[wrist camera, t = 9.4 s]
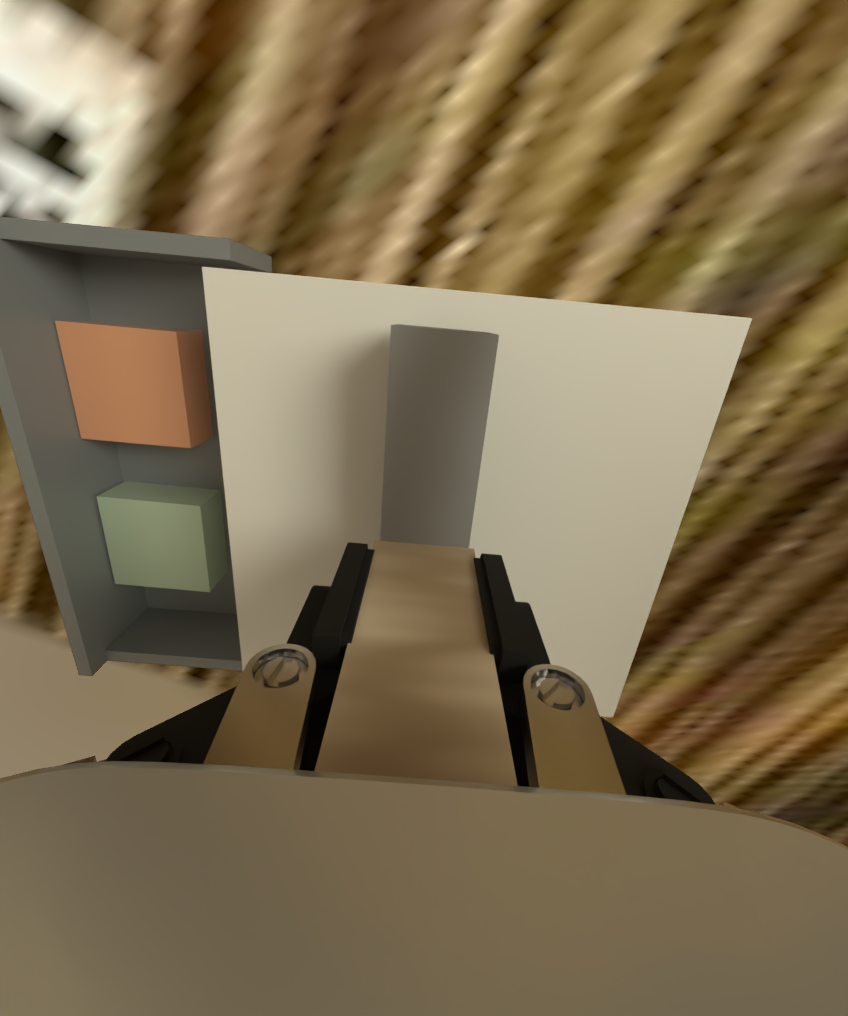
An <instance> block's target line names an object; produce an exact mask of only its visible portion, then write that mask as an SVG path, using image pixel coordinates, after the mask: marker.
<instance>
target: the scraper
mask: <svg viewBox="0 0 848 1016" xmlns="http://www.w3.org/2000/svg"><path fill="white" fill-rule="evenodd" d="M498 340H499V335H497V334H493V333H488V332H479V331H468V330H457V329H447V328H436V327H425V326H414V325H403V324H395V325H391V334H390V354H389V374H388V394H387V414H386V433H385V453H384V473H383V493H382V513H381V533H380V541H376V540H375V541H374V545H373V549H374V550H375V551H374V555H373V559H372V563H371V567H370V571H369V575H368V579H367V583H366V587H365V591H364V595H363V599H362V603H361V607H360V611H359V615H358V619H357V623H356V627H355V631H354V635H353V639H352V643H348V645H347V649H346V652H345V656H344V660H343V664H342V668H341V672H340V675H339V679H338V683H337V687H336V691H335V695H334V698H333V702H332V706H331V710H330V714H329V718H328V721H327V725H326V729H325V733H324V737H323V740H322V744H321V748H320V752H319V756H318V760H317V763H316V767H315V771H319V772H334V773H349V774H363V775H377V776H391V777H405V778H418V779H432V780H446V781H459V782H472V783H486V784H499V785H512V786H518V785H517V780H516V774H515V769H514V763H513V758H512V753H511V747H510V742H509V736H508V731H507V725H506V720H505V714H504V709H503V704H502V698H501V693H500V687H499V682H498V676H497V671H496V665H495V660H494V655H493V654H490V651H489V645H488V639H487V633H486V628H485V622H484V616H483V610H482V605H481V599H480V593H479V587H478V581H477V576H476V570H475V564H474V558H476V557H475V551H474V549H473V548H469V543H470V536H471V529H472V522H473V515H474V508H475V501H476V494H477V487H478V480H479V473H480V466H481V459H482V452H483V445H484V438H485V431H486V424H487V417H488V410H489V403H490V396H491V389H492V382H493V375H494V368H495V361H496V354H497V347H498Z"/></svg>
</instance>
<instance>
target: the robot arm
mask: <svg viewBox="0 0 848 1016" xmlns="http://www.w3.org/2000/svg"><path fill="white" fill-rule="evenodd" d="M374 551H375V550H374V549H368V544H363V543H351V542H348V543H347V546H346V548H345V551H344V553H343V556H342V559H341V561H340V564H339V566H338V569H337V572H336V574H335V577H334V580H333V582H332V585H331V586H319V585H314V586H313V587H312V588H311V590H310V593H309V595H308V597H307V599H306V601H305V604H304V606H303V608H302V610H301V612H300V615H299V617H298V619H297V621H296V623H295V626H294V628H293V630H292V632H291V634H290V637H289V639H288V641H287V643H286V644H278V645H274V646H271V647H267V648H265V649H263V650H262V651H260V652H258V653H257V654H255V655H254V656H253V657H252V658H251V659H250V660H249V662H248V663H247V665H246V666H245V668H244V671H243V673H242V675H241V678H240V680H239V682H238V684H237V686H236V687H234V688H232V689H230V690H228V691H226V692H224V693H222V694H220V695H218V696H216V697H214V698H212V699H209V700H207V701H205V702H203V703H201V704H199V705H197V706H195V707H193V708H191V709H189V710H187V711H185V712H183V713H181V714H179V715H177V716H175V717H173V718H171V719H169V720H166V721H164V722H163V723H160V724H158V725H156V726H154V727H152V728H150V729H148V730H146V731H144V732H142V733H140V734H138V735H136V736H134V737H132V738H131V739H129V740H128V741H126V742H124V743H123V744H121V746H119V747H118V748H117V749H116V750H115V751H113V752H112V753H111V754H110V756H109V757H108V758H107V759H106V760H102V761H99V762H97V761H96V758H95V756H92V757H89V758H85V759H82V760H78V761H75V762H71V763H68V764H64V765H61V766H55V767H49V768H42V769H36V770H32V771H28V772H24V773H20V774H16V775H12V776H8V777H4V778H0V1016H848V846H846V845H844V844H842V843H840V842H838V841H835V840H833V839H831V838H829V837H826V836H824V835H821V834H819V833H817V832H814V831H812V830H809V829H807V828H804V827H802V826H799V825H797V824H794V823H791V822H787V821H784V820H781V819H777V818H774V817H771V816H767V815H764V814H760V813H757V812H752V811H747V810H742V809H739V808H737V807H735V806H733V805H731V804H728V803H726V802H724V804H723V806H722V805H715V803H714V802H713V800H712V798H711V797H710V796H709V795H708V794H707V792H706V791H705V790H704V789H703V788H702V787H701V786H700V785H699V784H698V783H696V782H695V781H694V780H693V779H691V778H690V777H689V776H687V775H686V774H685V773H683V772H682V771H680V770H679V769H677V768H676V767H674V766H673V765H671V764H670V763H668V762H667V761H665V760H664V759H662V758H661V757H659V756H658V755H656V754H655V753H653V752H652V751H650V750H649V749H647V748H646V747H645V746H643V745H642V744H640V743H639V742H637V741H636V740H634V739H633V738H631V737H630V736H628V735H627V734H625V733H624V732H622V731H621V730H619V729H618V728H616V727H615V726H613V725H612V724H610V723H609V722H607V721H606V720H605V719H603V718H602V717H600V715H599V712H598V709H597V706H596V703H595V701H594V698H593V695H592V692H591V690H590V688H589V687H588V685H587V684H586V683H585V682H584V681H583V679H582V678H581V677H579V676H578V675H576V674H575V673H574V672H572V671H570V670H568V669H566V668H564V667H561V666H557V665H552V664H551V663H550V660H549V657H548V654H547V651H546V649H545V646H544V643H543V640H542V637H541V634H540V631H539V629H538V626H537V623H536V620H535V617H534V614H533V611H532V609H531V606H530V604H529V603H528V602H517V601H515V598H514V595H513V592H512V588H511V585H510V582H509V578H508V575H507V572H506V568H505V565H504V562H503V558H502V556H501V555H496V554H484V553H482V554H481V556H480V558H474V564H475V570H476V576H477V581H478V587H479V593H480V599H481V605H482V610H483V616H484V622H485V628H486V633H487V639H488V645H489V651H490V654H493V655H494V660H495V665H496V671H497V676H498V682H499V687H500V693H501V698H502V704H503V709H504V714H505V720H506V725H507V731H508V736H509V742H510V747H511V753H512V758H513V763H514V769H515V774H516V780H517V785H518V786H512V785H499V784H486V783H472V782H459V781H446V780H432V779H418V778H405V777H391V776H377V775H363V774H349V773H334V772H319V771H315V767H316V763H317V760H318V756H319V752H320V748H321V744H322V740H323V737H324V733H325V729H326V725H327V721H328V718H329V714H330V710H331V706H332V702H333V698H334V695H335V691H336V687H337V683H338V679H339V675H340V672H341V668H342V664H343V660H344V656H345V652H346V649H347V645H348V643H352V639H353V635H354V631H355V627H356V623H357V619H358V615H359V611H360V607H361V603H362V599H363V595H364V591H365V587H366V583H367V579H368V575H369V571H370V567H371V563H372V559H373V555H374Z"/></svg>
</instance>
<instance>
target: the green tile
mask: <svg viewBox="0 0 848 1016" xmlns="http://www.w3.org/2000/svg"><path fill="white" fill-rule="evenodd" d="M96 497H97V502H98V506H99V511H100V516H101V520H102V525H103V530H104V534H105V539H106V544H107V548H108V553H109V558H110V562H111V567H112V572H113V576H114V581H115V584H123V585H134V586H146V587H157V588H168V589H179V590H190V591H202V592H211V590H212V589H213V588H214V587H215V586H216V584H217V583H218V582H219V581H220V580H221V578H222V577H223V576H224V575H225V574H226V572H227V571H228V564H227V554H226V543H225V532H224V522H223V511H222V501H221V490H215V489H205V488H194V487H183V486H173V485H162V484H152V483H141V482H130V481H125V482H123V483H121V484H119V485H117V486H115V487H114V488H112V489H110V490H108V491H106V492H104V493H102V494H100V495H98V496H96Z"/></svg>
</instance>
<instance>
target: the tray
mask: <svg viewBox="0 0 848 1016" xmlns="http://www.w3.org/2000/svg"><path fill="white" fill-rule="evenodd" d="M202 267H212V268H222V269H233V270H244V271H254V272H265V273H272V258H271V256H269V255H266V254H264V253H262V252H259V251H257V250H255V249H252V248H250V247H247V246H245V245H243V244H240V243H238V242H235V241H233V240H231V239H227V238H216V237H206V236H195V235H185V234H174V233H164V232H153V231H143V230H132V229H122V228H111V227H101V226H90V225H80V224H69V223H59V222H48V221H37V220H27V219H16V218H6V217H0V407H1V411H2V414H3V418H4V421H5V424H6V428H7V431H8V435H9V438H10V441H11V445H12V448H13V452H14V455H15V458H16V462H17V465H18V469H19V472H20V475H21V479H22V482H23V486H24V489H25V493H26V496H27V499H28V503H29V506H30V510H31V513H32V516H33V520H34V523H35V527H36V530H37V533H38V537H39V540H40V544H41V547H42V550H43V554H44V557H45V561H46V564H47V568H48V571H49V574H50V578H51V581H52V585H53V588H54V591H55V595H56V598H57V602H58V605H59V608H60V612H61V615H62V619H63V622H64V625H65V629H66V632H67V636H68V639H69V642H70V646H71V649H72V653H73V656H74V659H75V663H76V666H77V670H78V673H79V675H86V676H93V675H94V674H95V672H97V671H98V670H99V669H100V668H101V666H102V665H103V664H104V663H105V662H106V661H107V660H109V661H121V662H134V663H147V664H160V665H173V666H186V667H199V668H212V669H224V670H237V671H243V668H242V659H241V649H240V639H239V629H238V619H237V609H236V599H235V589H234V580H233V570H232V560H231V550H230V540H229V530H228V520H227V510H226V501H225V491H224V481H223V471H222V461H221V451H220V441H219V431H218V422H217V412H216V402H215V392H214V382H213V372H212V362H211V352H210V342H209V333H208V323H207V313H206V303H205V293H204V283H203V273H202ZM55 321H99V322H110V323H121V324H132V325H143V326H153V327H164V328H175V329H186V330H196V331H202V335H203V345H204V354H205V364H206V373H207V383H208V392H209V402H210V411H211V421H212V430H213V437H212V438H210V439H208V440H206V441H204V442H202V443H200V444H198V445H196V446H194V447H192V448H182V447H170V446H159V445H148V444H136V443H125V442H114V441H102V440H91V439H81V435H80V430H79V426H78V422H77V417H76V413H75V408H74V404H73V399H72V395H71V391H70V386H69V382H68V377H67V373H66V369H65V364H64V360H63V355H62V351H61V346H60V342H59V338H58V333H57V329H56V324H55ZM125 481H130V482H141V483H152V484H162V485H173V486H183V487H194V488H205V489H215V490H221V501H222V511H223V522H224V532H225V543H226V554H227V564H228V571H227V572H226V574H225V575H224V576H223V577H222V578H221V580H220V581H219V582H218V583H217V584H216V586H215V587H214V588H213V589H212V590H211V592H202V591H190V590H179V589H168V588H157V587H146V586H134V585H123V584H115V581H114V576H113V572H112V567H111V562H110V558H109V553H108V548H107V544H106V539H105V534H104V530H103V525H102V520H101V516H100V511H99V506H98V502H97V497H96V496H98V495H100V494H102V493H104V492H106V491H108V490H110V489H112V488H114V487H115V486H117V485H119V484H121V483H123V482H125Z"/></svg>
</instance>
